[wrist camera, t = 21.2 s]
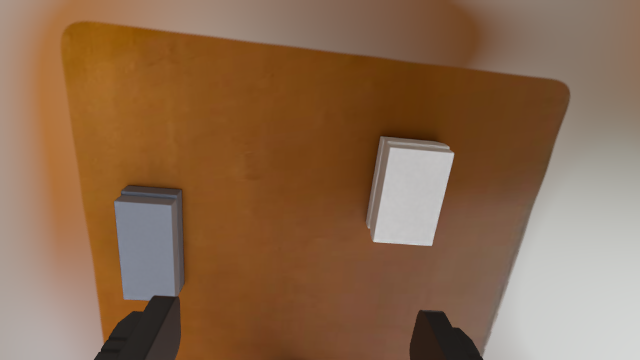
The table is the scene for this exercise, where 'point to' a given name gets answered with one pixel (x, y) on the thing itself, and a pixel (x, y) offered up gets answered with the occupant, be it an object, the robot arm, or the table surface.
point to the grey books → (150, 241)
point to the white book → (410, 194)
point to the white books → (380, 164)
